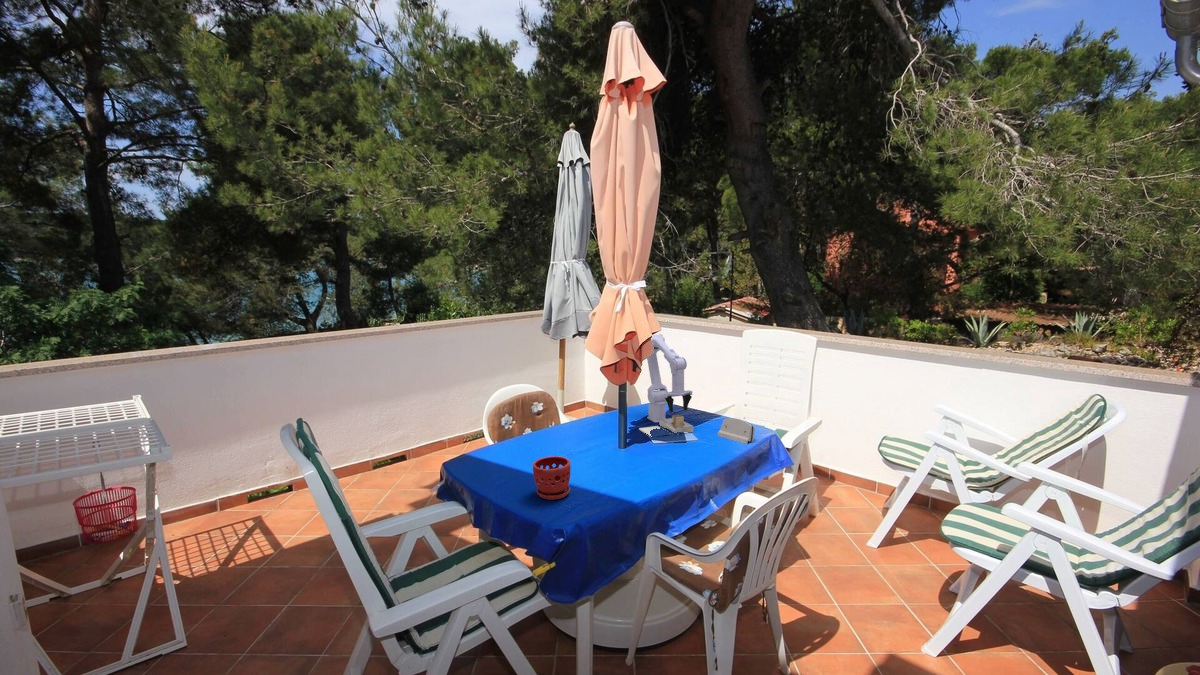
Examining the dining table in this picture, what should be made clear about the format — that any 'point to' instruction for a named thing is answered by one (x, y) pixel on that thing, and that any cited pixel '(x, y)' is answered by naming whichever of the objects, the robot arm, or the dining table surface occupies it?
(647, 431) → the pad
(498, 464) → the dining table surface
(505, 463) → the dining table surface
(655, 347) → the robot arm
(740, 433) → the hinge
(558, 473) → the plant pot
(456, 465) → the dining table surface
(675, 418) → the peg
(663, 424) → the white frame
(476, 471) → the dining table surface
